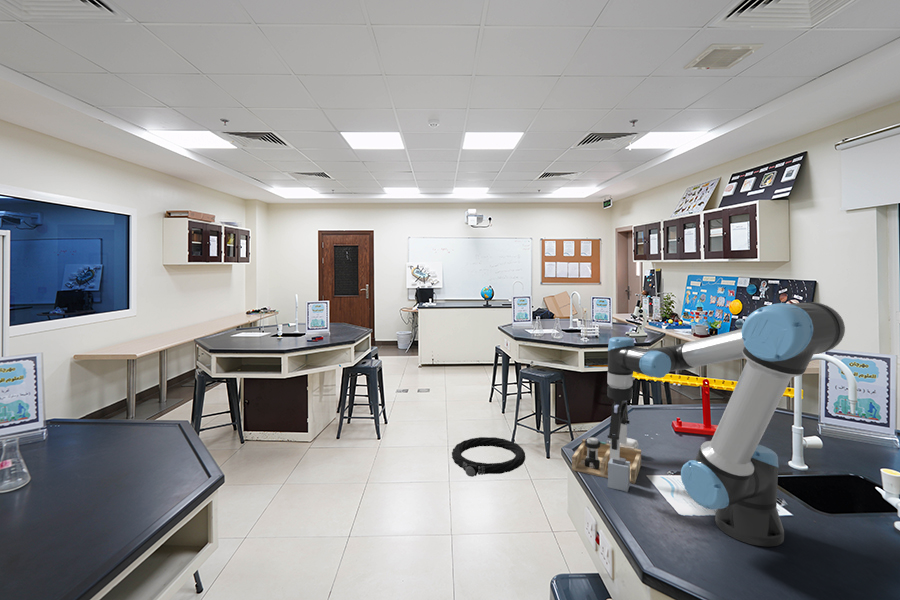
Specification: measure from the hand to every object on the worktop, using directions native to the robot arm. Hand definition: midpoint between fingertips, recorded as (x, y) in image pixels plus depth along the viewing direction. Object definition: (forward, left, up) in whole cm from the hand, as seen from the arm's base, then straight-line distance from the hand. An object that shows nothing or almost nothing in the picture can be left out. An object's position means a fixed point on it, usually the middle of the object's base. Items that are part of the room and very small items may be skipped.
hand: (618, 450), depth 139 cm
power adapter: (+28, +3, -12) cm, 30 cm away
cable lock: (-3, +46, -12) cm, 47 cm away
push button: (+8, +11, -11) cm, 17 cm away
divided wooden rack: (+12, +6, -12) cm, 17 cm away
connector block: (0, 0, -12) cm, 12 cm away
